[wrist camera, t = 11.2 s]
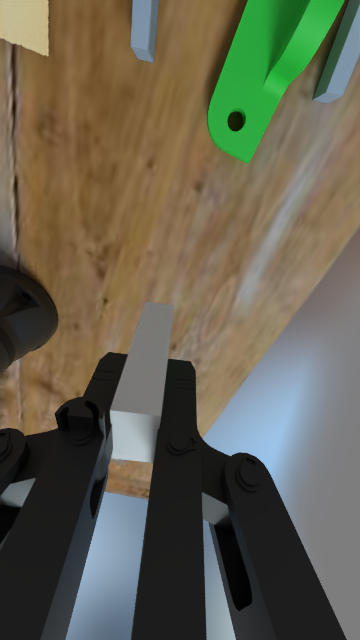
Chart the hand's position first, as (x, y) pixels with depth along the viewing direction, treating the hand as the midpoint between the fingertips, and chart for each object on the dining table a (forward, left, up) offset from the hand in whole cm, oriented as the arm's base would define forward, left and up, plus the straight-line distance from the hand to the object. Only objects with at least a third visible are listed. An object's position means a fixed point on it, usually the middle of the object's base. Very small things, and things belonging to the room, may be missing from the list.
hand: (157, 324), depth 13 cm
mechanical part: (+4, +15, -22) cm, 27 cm away
